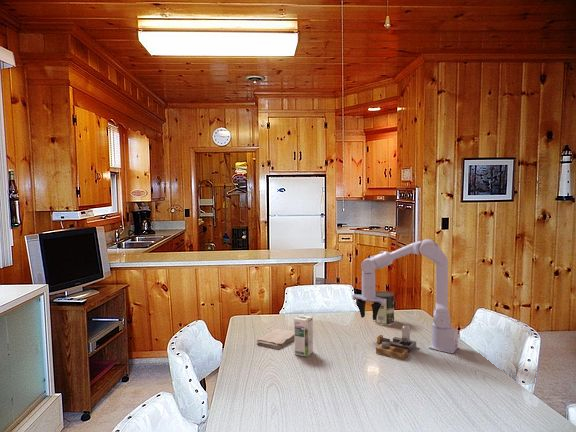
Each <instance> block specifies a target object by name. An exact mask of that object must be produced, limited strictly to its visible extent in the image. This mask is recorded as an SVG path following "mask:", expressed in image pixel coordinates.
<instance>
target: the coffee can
mask: <svg viewBox="0 0 576 432" xmlns="http://www.w3.org/2000/svg"><path fill="white" fill-rule="evenodd" d="M375 296H376V297H379V298H383V299H386V303H385V304H384V305H383V304H382V305H381V306H380V308H379V311H378V314H377V318H376V319H375V320H373V319H372V323H373V324H375V325H378V326H382V327H383V326H384V327H386V326H387V327H388V326H392V325H394V324H395V293H393V292H390V291H375ZM373 303H374V302H372V304H373Z"/></svg>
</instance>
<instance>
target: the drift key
mask: <svg viewBox="0 0 576 432" xmlns="http://www.w3.org/2000/svg"><path fill="white" fill-rule="evenodd" d="M389 341H391V339H390V338H386V337H384V336H383V334H380V335H378V336H377V337H376V343H377V344H379V345H380V344H382V342H389Z"/></svg>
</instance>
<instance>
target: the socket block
mask: <svg viewBox="0 0 576 432" xmlns="http://www.w3.org/2000/svg"><path fill="white" fill-rule="evenodd" d="M389 343H390V346H393V347H397V348H401V349H405V350H408V354H410V353H411V352H413V350H414V349H416V347H417V341H416V340H411V339H410V346H408V345H403V344H402V337H397V336H394V337H393V338H392V340H390V341H389Z"/></svg>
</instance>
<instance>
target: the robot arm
mask: <svg viewBox="0 0 576 432" xmlns="http://www.w3.org/2000/svg"><path fill="white" fill-rule="evenodd" d="M411 254H414V255H418V256H419V254H421V256H423V257H425V258H426V259H429V260H430V261H432V262H433V263H434V264H435V307H434V309H433V312H432V317H433V319H432V321H433V322H432V323H431V344H430V345H429V346H428V349H431V350H434V351H440V352H444V353H449V354H454V353H455V352H456V351H457V350H458V348H459V332H458V329H457V328H455V327H453V326H452V324H451V323H452V320H451V317H450V311H449V307H448V306H449V302H448V301H449V295H448V294H449V279H448V278H449V260H448V257H447V256H446V254H445V253H444V251H443V250H442V248H441V247H440V246H439V244H438V243H437V242H435V241H434V240H433V239H431V238H424V239H423V240H418V241H414V242H412V243H408V244H407V245H404V246H403V247H400V248H397V249H395V250H393V251H391V252H390V251H387V250H385V251H383V250H381V251H380V253H378V254H375V255H371V256H369V257H367V258H365V259H364V260H363V261H362V262H361V265H360V269H361V294H357V293H355V294H352V300H356V301H355V304H356V306H357V307H358V310H359V311H358V312H359V313H360V314H359V315H360V318H365V317H366V303H367V302H369V303H371V309H372V321H373V320H375V319H376V318H377V314H378V311H379V308H380V306H381V305H382V304H383V305H384V304H385V303H386V299H383V298H379V297H376V296H375V292H376V270H380V269H382V268H385V267H387V266H390V265H392V264H393V262H394V260H396V259H399V258H402V257H404V256H408V255H411ZM373 302H374V303H373Z"/></svg>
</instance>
